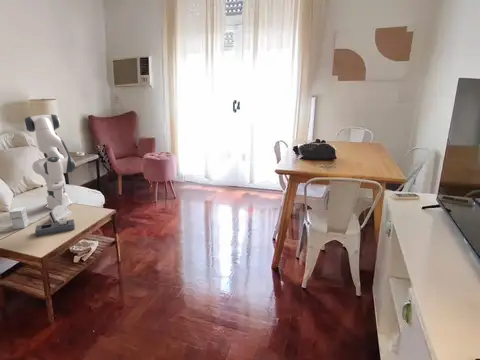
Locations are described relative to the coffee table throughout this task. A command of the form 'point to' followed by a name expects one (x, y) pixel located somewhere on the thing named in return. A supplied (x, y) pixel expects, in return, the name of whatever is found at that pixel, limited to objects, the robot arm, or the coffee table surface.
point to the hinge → (59, 213)
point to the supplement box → (19, 217)
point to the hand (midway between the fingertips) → (61, 202)
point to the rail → (54, 228)
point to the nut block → (62, 221)
